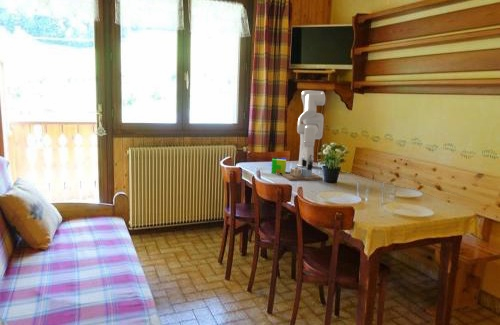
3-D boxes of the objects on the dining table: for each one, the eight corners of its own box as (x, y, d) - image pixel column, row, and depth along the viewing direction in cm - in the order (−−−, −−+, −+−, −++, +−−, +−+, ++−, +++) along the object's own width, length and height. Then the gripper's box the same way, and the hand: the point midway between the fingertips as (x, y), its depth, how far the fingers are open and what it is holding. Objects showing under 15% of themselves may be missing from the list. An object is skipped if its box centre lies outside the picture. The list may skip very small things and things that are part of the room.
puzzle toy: (285, 171, 290) (286, 158, 288) (285, 174, 280) (286, 160, 278) (271, 170, 291) (272, 157, 289) (271, 173, 281) (272, 159, 279)
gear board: (282, 175, 275) (283, 165, 274) (313, 175, 282) (314, 165, 280) (289, 180, 262) (290, 169, 260) (322, 180, 268) (323, 169, 267)
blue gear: (299, 174, 275) (300, 167, 274) (308, 174, 276) (309, 167, 275) (303, 177, 268) (304, 169, 267) (312, 176, 270) (313, 169, 269)
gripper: (298, 141, 275) (297, 165, 279) (308, 146, 259) (306, 171, 263) (308, 141, 277) (306, 165, 281) (319, 146, 261) (317, 171, 265)
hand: (306, 168), depth 272 cm, fingers open, 9 cm apart
